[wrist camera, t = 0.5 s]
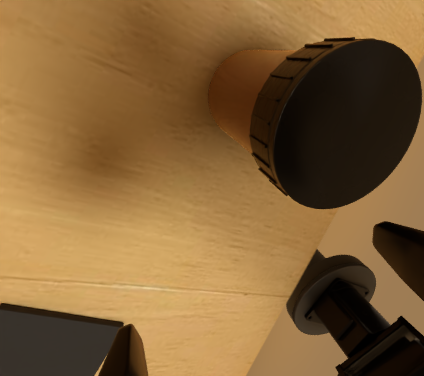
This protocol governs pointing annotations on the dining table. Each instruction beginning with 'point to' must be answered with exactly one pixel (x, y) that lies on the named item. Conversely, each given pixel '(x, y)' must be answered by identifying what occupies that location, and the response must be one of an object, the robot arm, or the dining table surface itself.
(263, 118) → the jar lid
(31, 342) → the rubber mat
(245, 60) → the jam jar
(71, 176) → the dining table surface
